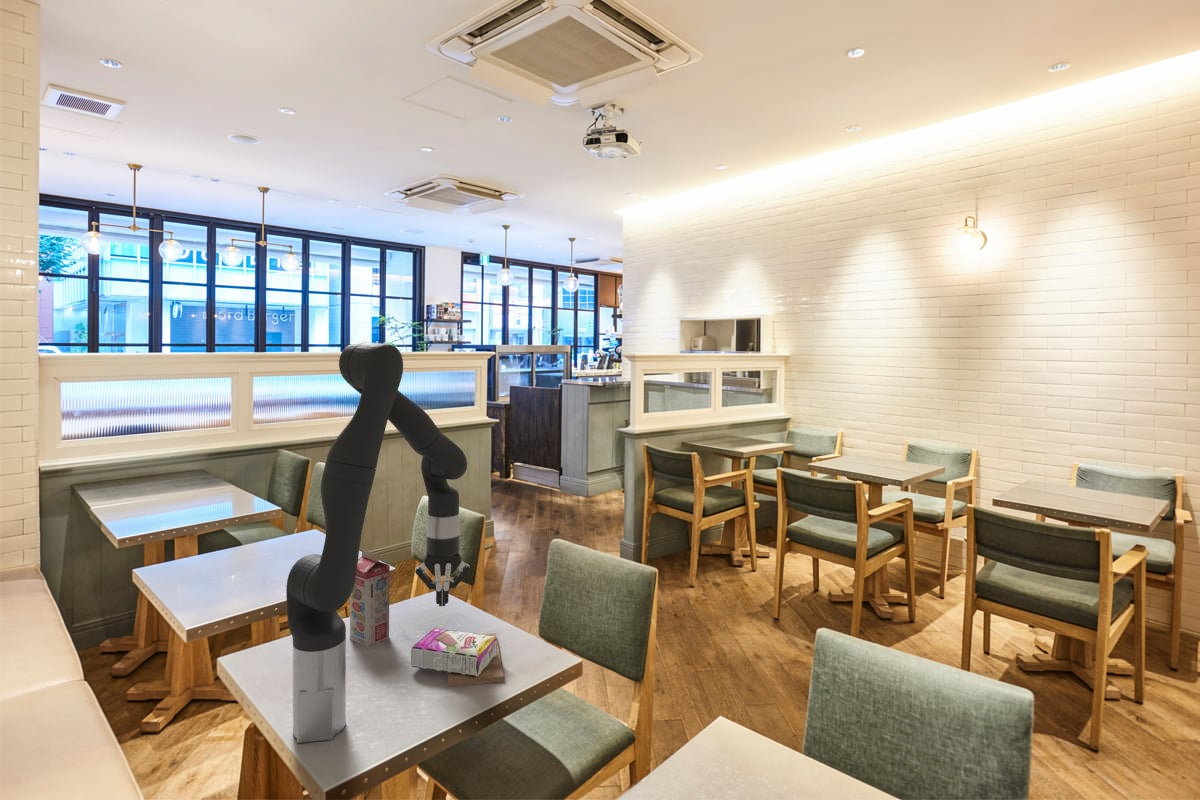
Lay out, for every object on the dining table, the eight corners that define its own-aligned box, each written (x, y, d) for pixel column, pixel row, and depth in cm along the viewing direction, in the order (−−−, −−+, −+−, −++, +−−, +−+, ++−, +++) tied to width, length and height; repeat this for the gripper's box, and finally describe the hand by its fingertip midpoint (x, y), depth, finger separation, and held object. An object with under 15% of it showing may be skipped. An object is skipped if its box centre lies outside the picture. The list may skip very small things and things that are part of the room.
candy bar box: (433, 626, 155) (497, 635, 151) (433, 646, 155) (497, 655, 151) (410, 646, 144) (478, 656, 140) (410, 667, 144) (478, 678, 141)
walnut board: (503, 681, 142) (503, 676, 142) (447, 686, 139) (448, 681, 139) (495, 637, 163) (495, 633, 163) (447, 641, 160) (447, 636, 160)
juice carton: (373, 630, 165) (373, 546, 164) (388, 637, 161) (389, 552, 160) (349, 638, 160) (350, 552, 158) (365, 646, 156) (366, 558, 154)
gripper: (413, 538, 144) (412, 613, 145) (472, 536, 147) (471, 609, 148) (414, 529, 151) (413, 600, 152) (471, 527, 154) (470, 597, 156)
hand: (442, 604), depth 150 cm, fingers closed
